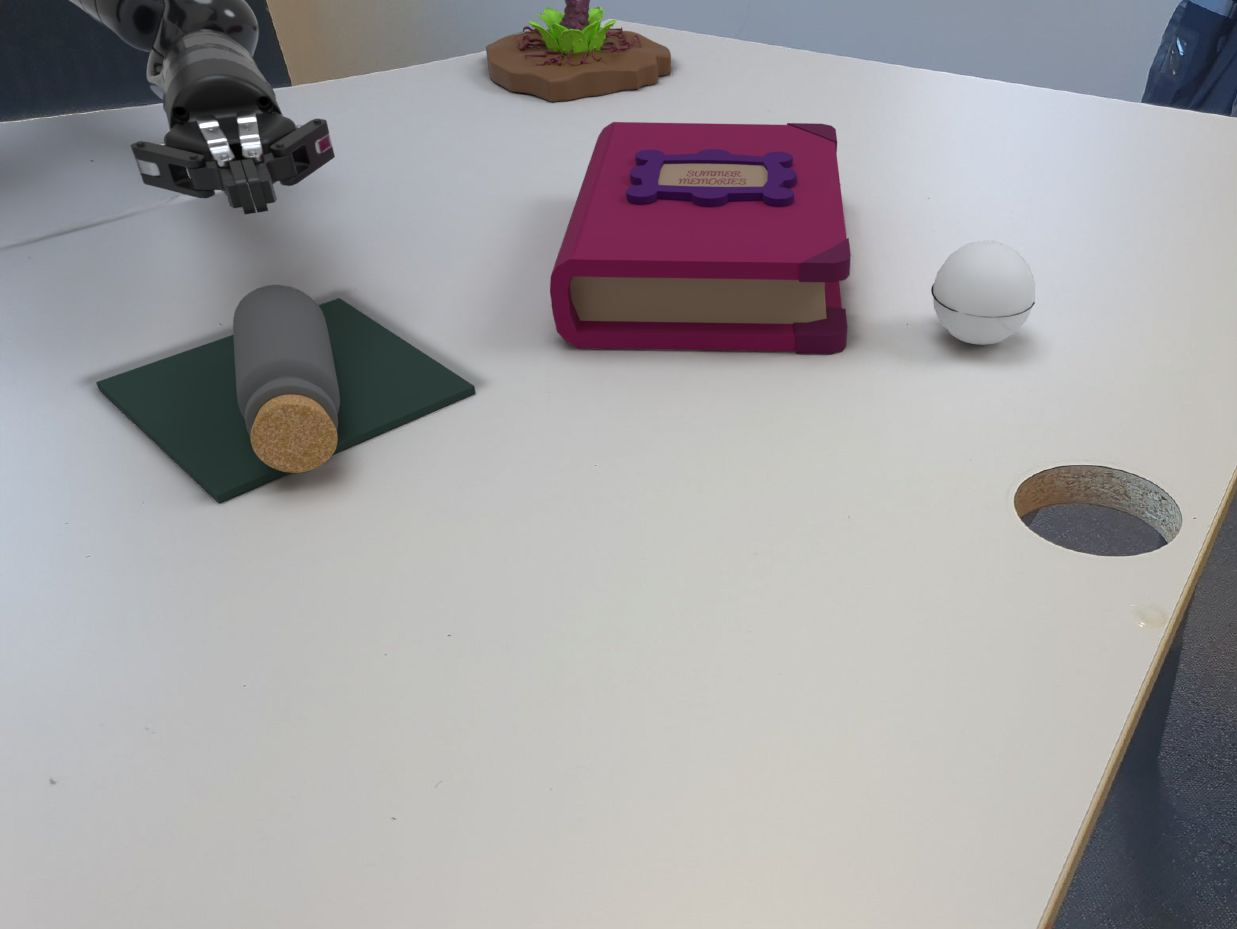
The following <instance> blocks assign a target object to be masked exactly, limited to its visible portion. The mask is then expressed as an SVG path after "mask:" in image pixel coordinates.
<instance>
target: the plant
mask: <svg viewBox="0 0 1237 929" xmlns="http://www.w3.org/2000/svg"><path fill="white" fill-rule="evenodd" d="M590 2H591V0H564V3H565V7H564V9H563V13H561V12H560V11H558V10H556V9H553V8H550V7H548V6H546V7H545V8H544V10H543V13H544V14H542V13H538V17H539V19H540V20H541V21H543V22H544V23H545V24H546V26H547V28H548V29H545V28H544V27H543V26H542V25H541V24H539V23H538V22H535V21H531V20H528V21H527V23H528V24H529V25H531V27H532V28H531V27H530V26H528V25H526V26H523V27H522V31H519V32H517V33H513V34H509V35H507V36H504V37H502V38H499V39H497V40H496V41H494V42H492V43H490V44H488V45H485V52H486V59H487V66H488V73H489V78H490V79H491V80H492V82H494V83H496V85H499V86H501V87H502V88H504V89H506V90H508V91H510V92H512V93H520V94H528V95H533V96H536V97H538V98H541V99H543V100H545V101H548V102H550V103H555V102H563V101H564V102H565V101H573V100H577V99H581V98H582V99H583V98H588V97H598V96H605V95H609V94H614V93H617V92H621V91H629V90H632V91H633V90H639V89H640V88H641V87H646V86H653V85H656V84H658V82H659V77H660V76H661V77H663V76H668V75H670V74H671V73H672V54H671V51H670V49H669V48H668V47H667V46H665V45H663V44H660V43H658V42H656V41H654V40H651V38H648V37H646V36H644V35H642V34H640V33H638V32H636V31H631V30H623V27H622V26H621V27H620V28H618V27H617V28H612V27H614V25H615V24H616V22H617V21H618V20H617V19H612V20H609V21H608V22H607V23H605V24H604V25H603V26H602V27H601V24H602V18H604V15H605V11H604V10H603V9H602V7H601V6H597V7H593V8H591V9H590ZM525 30H528V31H525Z"/></svg>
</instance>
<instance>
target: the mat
mask: <svg viewBox="0 0 1237 929" xmlns="http://www.w3.org/2000/svg"><path fill="white" fill-rule="evenodd" d="M318 306H319V307H320V309H321V310H322V312H323V315H324V317H325V321H326V325H327V329H328V334H329V339H330V344H331V349H332V355H333V360H334V366H335V371H336V377H337V382H338V387H339V395H340V406H339V411H338V414H337V417H338V427H337V436H338V441H337V446H336V449H335V451H334V453H333V455H335V454H337V453H339V452H342V451H344V450H347V449H349V448H351V447H353V446H355V445H358V444H361V443H363V442H365V441H369V440H370V439H372V438H375V437H377V436H380V435H381V434H383V433H386V432H388V431H391V430H394V429H396V428H398V427H400V426H403V425H405V424H408V423H409V422H411V421H414V420H416V419H419V418H421V417H423V416H425V415H429V414H431V413H433V412H435V411H438V410H440V409H442V408H445V407H447V406H449V405H451V404H454V403H456V402H458V401H460V400H463V399H465V398H467V397H470V396H473V395H475V394H476V393H477V392H476V388H475V385H474V384H472V383H471V382H469V381H467V380H466V379H464V378H463V377H462V376H460V375H458V374H457V373H455V372H454V371H452V370H451V369H449V368H447V366H444V365H443V364H442V363H440V362H439V361H437V360H435V359H434V358H432V357H431V356H430V355H428V354H427V353H425V352H423V351H422V350H420V349H419V348H417V347H415V346H414V345H412V344H411V343H410V342H408V341H406V339H405V340H404V339H403V338H401V337H400V336H398V335H396V334H395V333H394V332H392V331H391V330H389V329H388V328H386V327H385V326H383V325H382V324H381V323H379V322H377V321H376V320H375V319H372V318H371V317H370V316H368V315H366V314H365V313H363V312H362V311H361V310H359V309H357V308H356V307H354V306H352V305H351V304H350V303H348V302H346V301H345V300H343V298H340V297H338V298H334V299H332V300H328V301H326V302H323V303H321V304H318ZM95 383H96V386H97V389H98V390H99V391H100V392H101V393H102V395H104V396H105V397H107V398H108V400H109V401H110V402H112V403H113V405H115V406H116V407H117V408H118V409H119V410H120V411H121V412H122V413H123V414H124V415H125V416H126V417H128V418H129V419H130V420H131V421H132V422H133V423H134V424H135V425H136V426H137V428H140V430H141V431H142V432H144V434H145V435H147V436H148V437H149V439H151V440H152V441H153V442H154V443H155V444H156V445H157V446H158V447H159V448H160V449H161V450H163V451H164V453H166V454H167V455H168V456H169V458H170V459H172V460H173V461H174V463H176V464H177V465H178V466H179V467H181V468H182V469H183V471H185V472H186V473H187V474H188V475H189V476H190V477H191V478H192V479H193V480H194V481H195V482H196V483H197V484H199V485H200V487H202V488H203V489H204V490H205V491H206V492H207V493H208V494H209V495H210V496H211V497H212V498H213V499H214V500H215V501H217V502H218V503H219V504H221V503H223V502H225V501H228V500H231V499H232V498H235V497H237V496H239V495H242V494H244V493H246V492H249V491H251V490H254V489H255V488H257V487H260V486H262V485H265V484H267V483H269V482H272V481H275V480H276V479H279V478H281V477H283V476H286V475H288V474H290V473H291V472H284V471H280V470H277V469H274V468H272V467H270V466H268V465H267V464H265V463H264V462H263V461H261V460H260V459H259V457H258V456H257V455H256V453H255V452H254V450H253V447H252V445H251V439H250V436H249V434H248V431H247V428H246V423H245V419H244V417H243V415H242V414H241V411H240V408H239V405H238V399H237V388H236V373H235V357H234V337H233V334H231V335H228V336H225V337H223V338H219V339H217V340H214V341H211V342H208V343H204V344H202V345H199V346H196V347H193V348H190V349H187V350H185V351H182V352H178V353H176V354H173V355H170V356H168V357H165V358H162V359H159V360H156V361H153V362H150V363H147V364H144V365H142V366H138V367H136V368H133V369H130V370H127V371H124V372H121V373H118V374H115V375H112V376H109V377H107V378H105V379H104V378H103V379H100V380H98V381H96V382H95Z"/></svg>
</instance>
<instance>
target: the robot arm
mask: <svg viewBox="0 0 1237 929" xmlns="http://www.w3.org/2000/svg"><path fill="white" fill-rule="evenodd" d="M68 1H69V2H70V3H72V4H74V5H75V6H76V7H78V8H79V9H80V10H82V11H84V12H85V13H86V14H87V15H88V16H90V17H91V18H92V19H93V20H95V21H96V22H97V23H98V24H100V25H101V26H102V27H104V28H105V29H106V30H108V31H109V32H110V33H111V34H113V35H114V36H115V37H116V38H118V39H119V40H120V41H122V42H123V43H125V44H127V45H128V46H130V47H132V48H134V49H136V50H139V51H143V52H146V53H149V56H148V59H147V60H148V61H147V65H146V81H147V85H148V87H149V88H150V90H151V91H152V92H153V93H154V94H155V96H157V97H158V98H160V99H161V100H162V107H163V111H164V113H165V115H166V119H167V124H168V128H169V131H167V132H166V133H165V135H164V136H163V141H162V142H158V143H154V142H151V141H144V140H138V141H136V142H133V143H132V144H130V148H131V151H132V154H133V158H134V161H135V163H136V166H137V169H138V172H139V174H140V177H141V180H142V182H143V184H144V185H147V186H150V187H155V188H158V189H162V190H166V191H170V192H174V193H178V194H182V195H186V196H188V197H189V196H190V197H194V198H197V199H210V198H212V197H215V195H216V191H221V192H222V193H224V195H225V196H226V199H227V201H228V206H229V207H230V208H232V209H241V208H242V211H243V215H251V214H258V213H265V212H269V207H268V204H273V203H276V202H277V200H278V198H277V194H276V191H275V186H274V184H276V183H277V182H279V184H280V185H281V186H284V187H285V186H286V187H293V186H295V185H297V184H299V183H301V182H302V181H304V180H305V179H306V178H308V177H309V176H311V175H312V174H313V173H315V172H316V171H317V170H319V169H320V168H322V167H324V165H326V164H327V163H329V162H330V161H331V160H334V159H335V156H336V155H335V151H334V147H333V142H332V138H331V134H330V130H329V126H328V120H326V119H324V118H313V119H311V120H309V121H308V122H306V123H304V124H303V125H302V124H296V123H295V121H293V120H292V119H291V118H289V117H287V116H285V115H283V113H282V110H281V107H280V106H279V103H278V101H277V97H276V93H275V91H274V89H273V87H272V85H271V83H269V82H268V80H267V78H265V76H264V74H262V72H261V71H260V68H259V67H258V64H257V63H256V61H255V60H254V54H255V51H256V49H257V45H258V42H259V36H260V27H259V22H258V19H257V17H256V15H255V13H254V11H253V9H252V7H251V6H250V5H249V3H248V2H247V1H246V0H68Z"/></svg>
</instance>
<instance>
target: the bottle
mask: <svg viewBox="0 0 1237 929" xmlns="http://www.w3.org/2000/svg"><path fill="white" fill-rule="evenodd" d="M318 305H319V304H318V303H317V302H316V300H314V298H312V297H311V296H310V295H309V294H307V293H306V292H304V291H302V290H300V289H298V288H296V287H292V286H288V285H283V284H270V285H265V286H262V287H258V288H255V289H253V290H251V291H250V292H248V293H247V294H246V295H244V296H243V297H242V298H241V299H240V301H239V302H238V304H237V306H236V307H235V310H234V312H233V319H232V321H233V322H232V330H233V331H232V335H233V337H234V357H235V373H236V388H237V399H238V405H239V408H240V411H241V414H242V415H243V417H244V419H245V423H246V428H247V431H248V434H249V436H250V439H251V445H252V447H253V450H254V452H255V453H256V455H257V456H258V457H259V459H260V460H261V461H263V462H264V463H265V464H267V465H268V466H270V467H272V468H274V469H277V470H280V471H284V472H291V473H295V474H296V473H297V474H300V473H305V472H310V471H313V470H315V469H318V468H320V467H322V466H323V465H324V464H325V463H327V462H328V461H329V460H330V459H331V458H332V456H333V455H334V454H333V453H334V451H335V449H336V446H337V441H338V436H337V427H338V417H337V414H338V411H339V406H340V395H339V387H338V382H337V377H336V371H335V366H334V360H333V355H332V349H331V344H330V339H329V334H328V329H327V325H326V321H325V317H324V315H323V312H322V310H321V309H320V307H319V306H318Z"/></svg>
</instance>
